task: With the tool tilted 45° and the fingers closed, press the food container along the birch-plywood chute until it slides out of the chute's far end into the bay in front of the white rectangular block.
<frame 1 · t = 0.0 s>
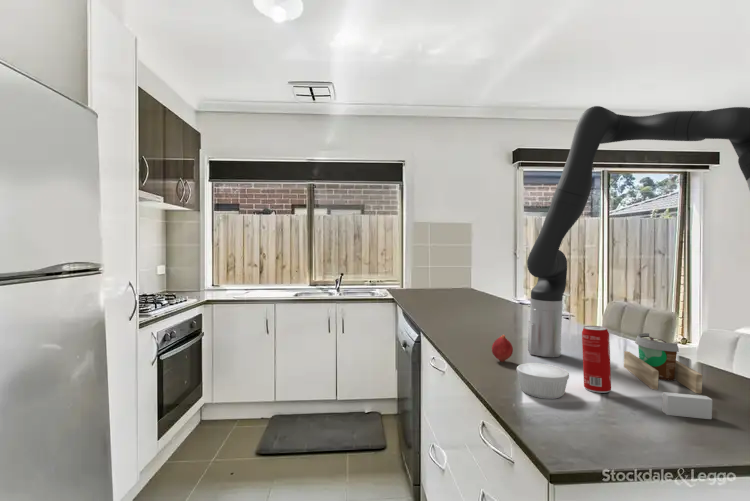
white rectangular block: (686, 415, 84), on the countertop
food container: (650, 375, 110), on the countertop
beverage can: (595, 390, 97), on the countertop
ramekin: (541, 392, 95), on the countertop
onion: (501, 362, 118), on the countertop
chute: (659, 379, 106), on the countertop
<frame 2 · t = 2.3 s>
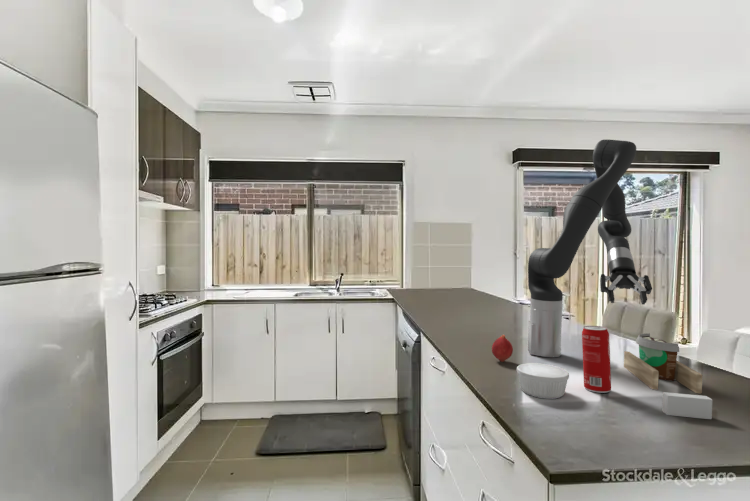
hand: (628, 302, 130), 17 cm above the countertop, tool tilted 40°, fingers open, 8 cm apart
nothing on the countertop moved.
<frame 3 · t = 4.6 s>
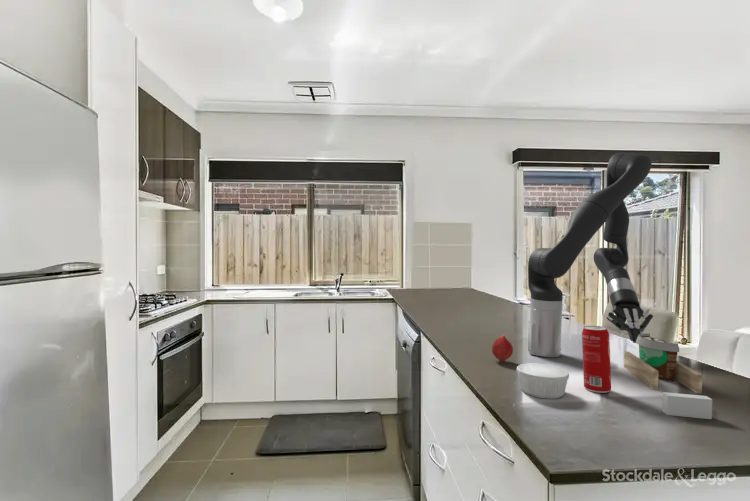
hand: (637, 341, 120), 6 cm above the countertop, tool tilted 45°, fingers closed
nothing on the countertop moved.
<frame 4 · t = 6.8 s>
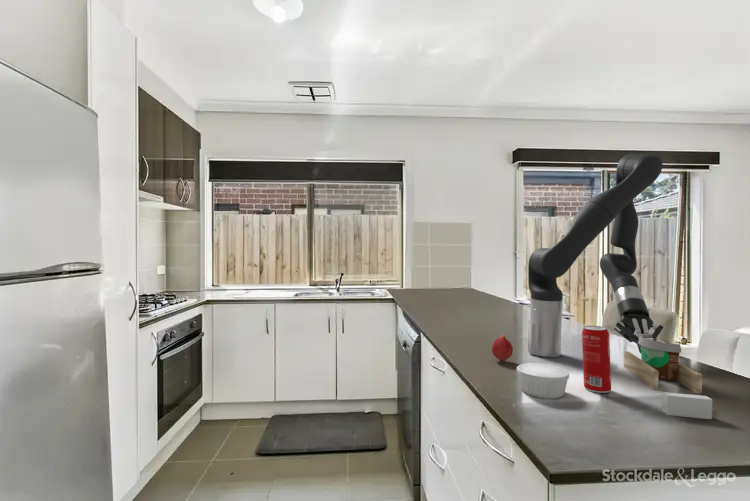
hand: (646, 354, 114), 4 cm above the countertop, tool tilted 45°, fingers closed
food container: (652, 376, 109), on the countertop, touching gripper
everything else where it was.
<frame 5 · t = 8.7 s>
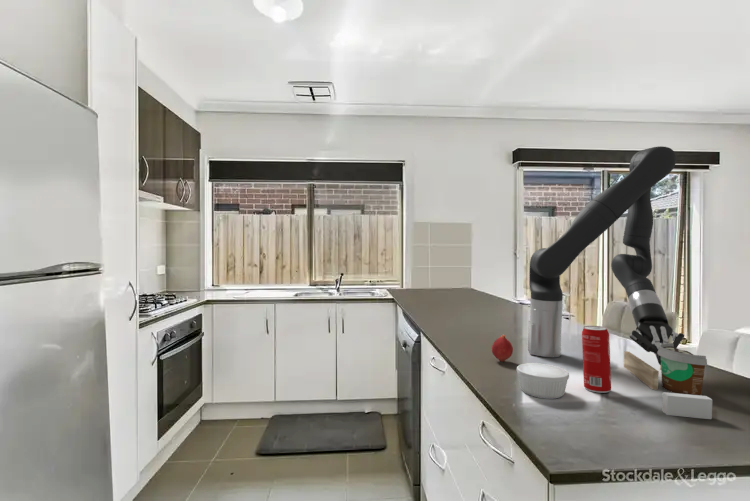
hand: (667, 366, 103), 4 cm above the countertop, tool tilted 45°, fingers closed
food container: (673, 390, 98), on the countertop, touching gripper
everything else where it was.
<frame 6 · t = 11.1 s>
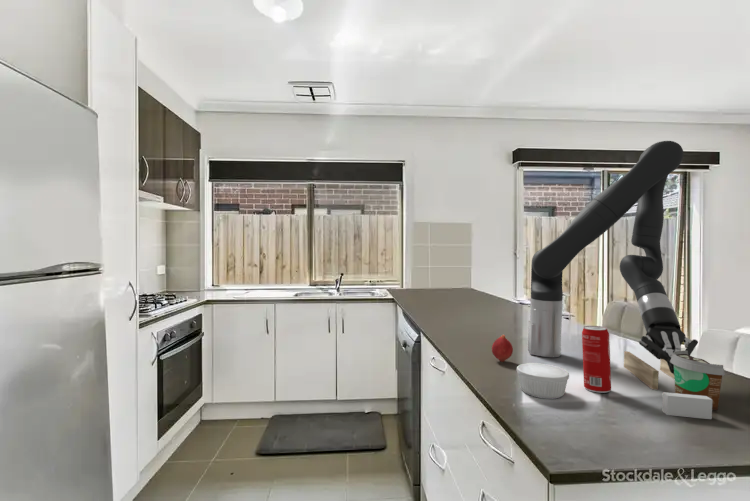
hand: (679, 374, 96), 4 cm above the countertop, tool tilted 45°, fingers closed
food container: (687, 401, 92), on the countertop, touching gripper
everything else where it was.
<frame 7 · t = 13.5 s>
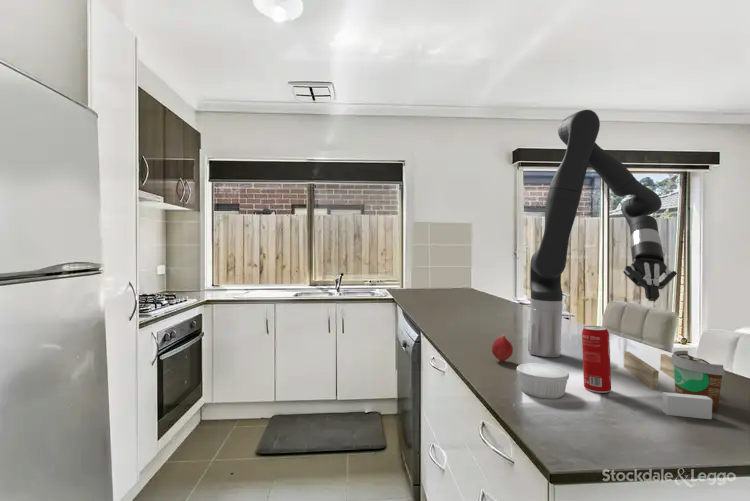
hand: (653, 299, 109), 20 cm above the countertop, tool tilted 35°, fingers closed
food container: (687, 401, 92), on the countertop
everything else where it was.
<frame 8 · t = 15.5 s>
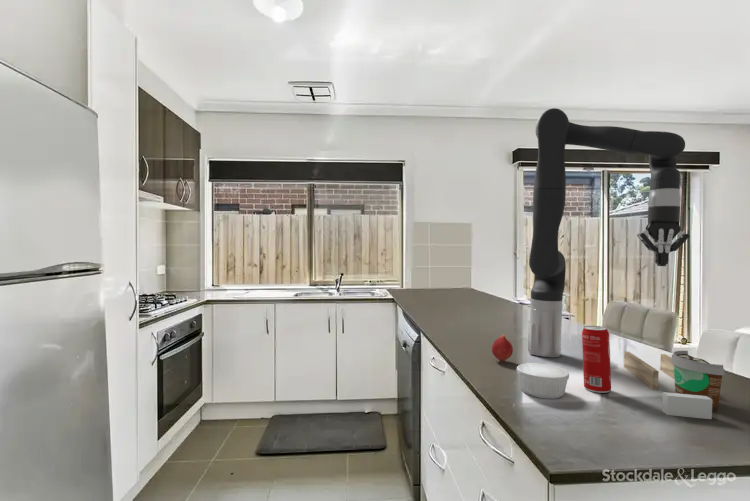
hand: (661, 266, 117), 29 cm above the countertop, tool pointing down, fingers closed
nothing on the countertop moved.
at the end: food container inside the target area (3.6 cm from its centre), on the countertop; food container tilted 0°; food container moved 17.9 cm from its start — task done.
